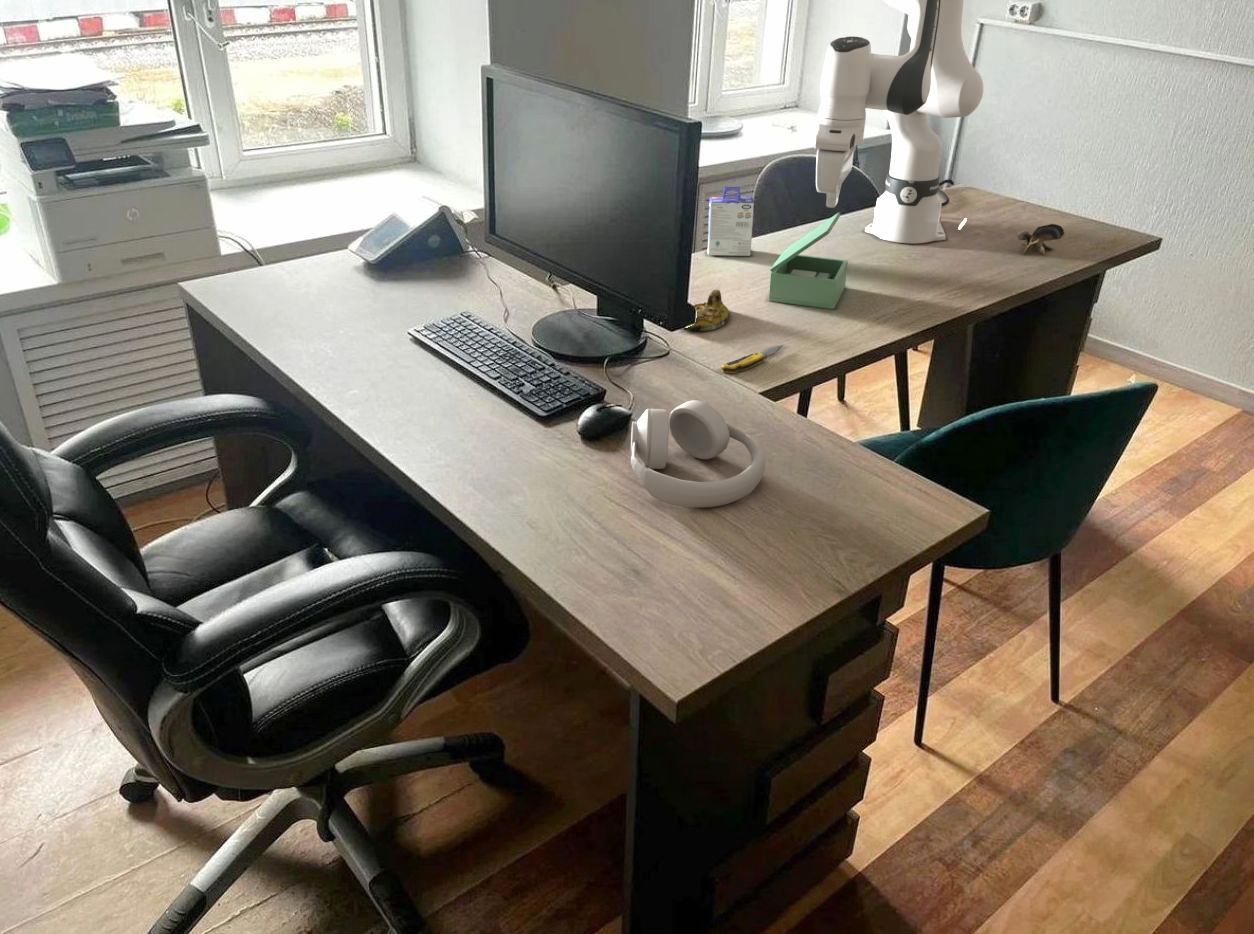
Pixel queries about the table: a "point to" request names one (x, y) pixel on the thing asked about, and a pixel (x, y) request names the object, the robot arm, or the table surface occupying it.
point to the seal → (710, 313)
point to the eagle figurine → (1041, 237)
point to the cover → (806, 242)
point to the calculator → (810, 274)
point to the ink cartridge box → (730, 224)
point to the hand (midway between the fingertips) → (831, 205)
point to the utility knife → (749, 360)
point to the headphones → (699, 437)
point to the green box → (809, 282)
